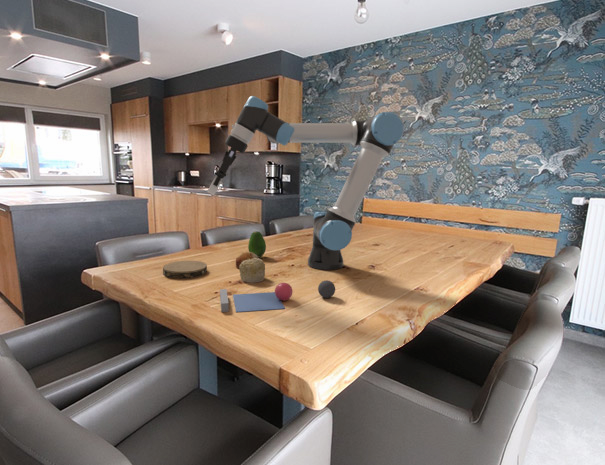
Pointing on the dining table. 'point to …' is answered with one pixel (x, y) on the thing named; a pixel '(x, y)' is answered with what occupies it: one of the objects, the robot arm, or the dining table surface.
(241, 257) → the bread roll
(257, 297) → the blue flat square slab
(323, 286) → the dark gray ball
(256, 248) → the fruit
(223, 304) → the wall
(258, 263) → the coral
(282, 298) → the red object ball
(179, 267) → the round stone disc
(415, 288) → the dining table surface
